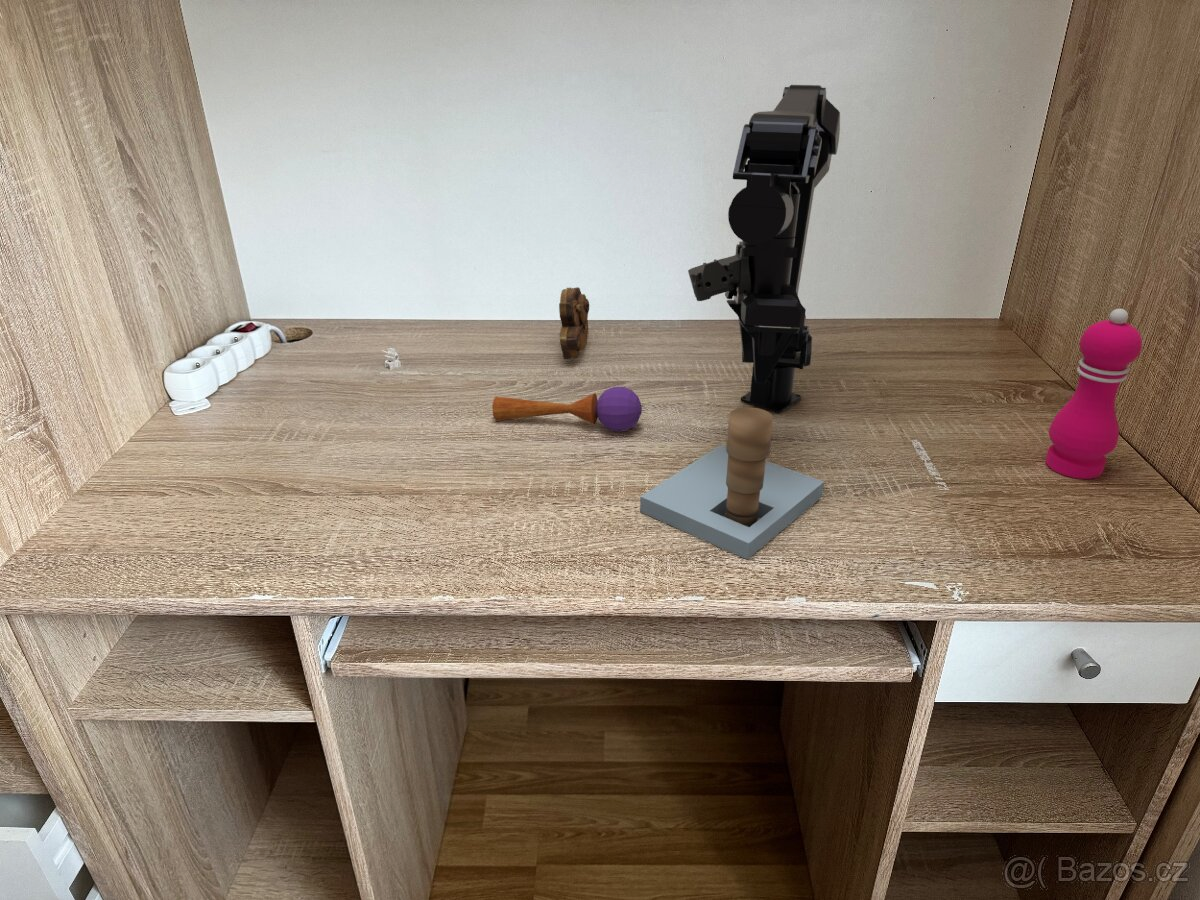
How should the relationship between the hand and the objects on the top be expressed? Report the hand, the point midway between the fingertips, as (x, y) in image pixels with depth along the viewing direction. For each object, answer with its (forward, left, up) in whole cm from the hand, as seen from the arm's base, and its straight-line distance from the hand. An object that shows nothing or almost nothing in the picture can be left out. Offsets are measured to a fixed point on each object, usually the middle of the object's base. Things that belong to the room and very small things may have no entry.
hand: (753, 372), depth 97 cm
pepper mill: (-24, +31, -12) cm, 41 cm away
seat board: (+10, +4, -12) cm, 16 cm away
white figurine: (+11, -60, -13) cm, 62 cm away
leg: (+13, +7, -12) cm, 19 cm away
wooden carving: (-14, -42, -12) cm, 46 cm away
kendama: (+7, -24, -12) cm, 28 cm away
